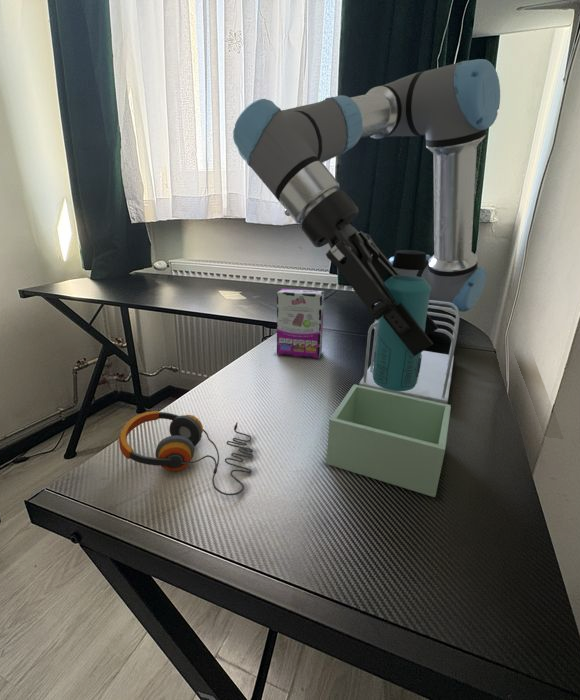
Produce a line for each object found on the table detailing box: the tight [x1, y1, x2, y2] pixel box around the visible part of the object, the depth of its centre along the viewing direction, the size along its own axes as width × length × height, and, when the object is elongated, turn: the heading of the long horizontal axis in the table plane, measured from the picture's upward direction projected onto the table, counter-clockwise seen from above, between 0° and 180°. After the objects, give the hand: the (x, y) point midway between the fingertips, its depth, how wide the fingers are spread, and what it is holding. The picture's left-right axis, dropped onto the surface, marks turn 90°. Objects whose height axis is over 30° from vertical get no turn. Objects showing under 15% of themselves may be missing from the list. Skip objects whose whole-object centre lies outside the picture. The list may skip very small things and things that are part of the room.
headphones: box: [118, 410, 254, 496], centre depth 57 cm, size 17×5×20 cm
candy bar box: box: [276, 288, 325, 359], centre depth 94 cm, size 11×5×16 cm, turn 78°
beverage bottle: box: [372, 249, 431, 391], centre depth 51 cm, size 6×7×20 cm
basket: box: [325, 383, 452, 498], centre depth 58 cm, size 13×16×8 cm
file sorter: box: [358, 300, 460, 405], centre depth 83 cm, size 25×17×16 cm
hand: (426, 340), depth 51 cm, fingers closed on beverage bottle, 6 cm apart
